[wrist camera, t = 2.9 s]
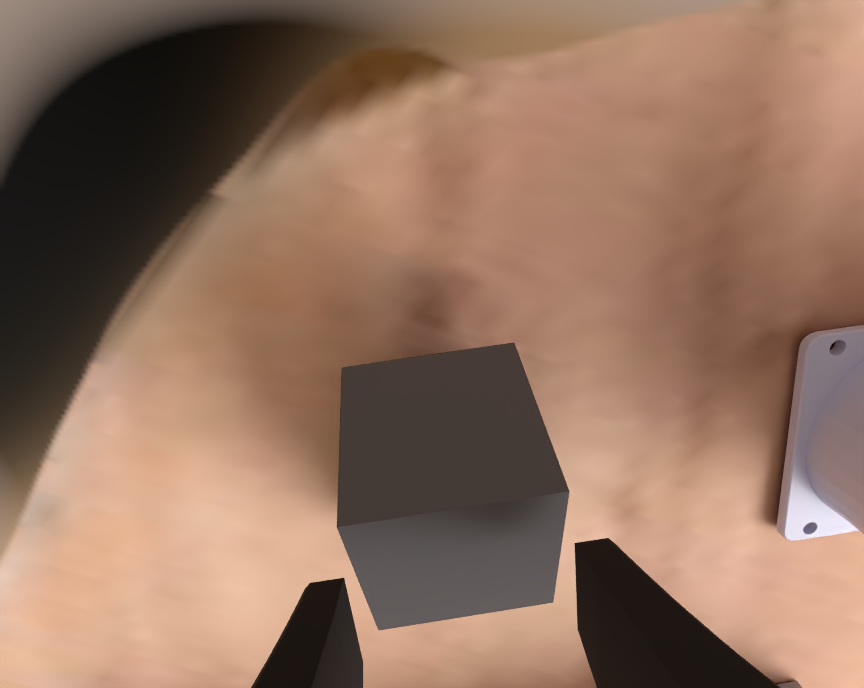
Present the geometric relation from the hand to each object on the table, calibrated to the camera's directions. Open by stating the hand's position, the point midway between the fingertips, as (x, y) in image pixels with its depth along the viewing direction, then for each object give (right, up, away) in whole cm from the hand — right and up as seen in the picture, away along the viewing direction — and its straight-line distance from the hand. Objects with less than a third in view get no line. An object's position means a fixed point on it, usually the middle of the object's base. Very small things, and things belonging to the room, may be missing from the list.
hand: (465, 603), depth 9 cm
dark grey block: (0, +2, +6) cm, 7 cm away
